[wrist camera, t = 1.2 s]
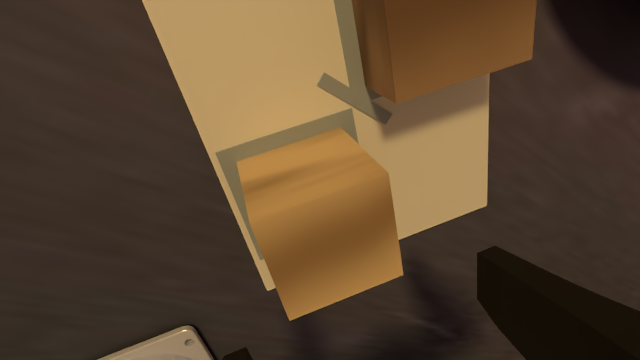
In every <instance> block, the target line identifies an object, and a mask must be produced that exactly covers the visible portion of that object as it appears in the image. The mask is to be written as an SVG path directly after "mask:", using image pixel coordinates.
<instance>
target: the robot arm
mask: <svg viewBox="0 0 640 360" xmlns="http://www.w3.org/2000/svg"><path fill="white" fill-rule="evenodd" d="M477 299H478V301H479V302H480V303H481V305H482V306H483V308H484V309H485V311H486V312H487V313H488V315H489V316H490V318H491V319H492V320H493V322H494V323H495V324H496V326H497V327H498V328H499V330H500V331H501V332H502V333H503V334H504V335H505V336H506V338H507V339H508V340H509V341H510V342H511V343H512V344H513V345H514V346H515V348H516V349H517V350H518V351H519V352H520V353H521V354H522V355H523V356H524V357H525V359H526V360H640V311H638V310H635V309H633V308H630V307H628V306H625V305H623V304H620V303H618V302H615V301H613V300H611V299H608V298H606V297H603V296H601V295H599V294H596V293H594V292H592V291H589V290H587V289H585V288H583V287H580V286H578V285H576V284H574V283H572V282H570V281H567V280H565V279H563V278H561V277H559V276H557V275H555V274H552V273H550V272H548V271H546V270H544V269H542V268H540V267H538V266H536V265H534V264H532V263H530V262H528V261H526V260H523V259H521V258H519V257H517V256H515V255H513V254H511V253H509V252H507V251H505V250H503V249H501V248H499V247H497V246H493V247H491V248H488V249H486V250H483V251H481V252H479V253H477ZM189 339H192V340H189ZM98 360H214V358H213V357H212V355H211V354H210V352H209V350H208V349H207V347H206V346H205V344H204V342H203V341H202V339H201V338H200V336H199V335H198V333H197V331H196V330H195V328H194V327H192V326H182V327H180V328H177V329H175V330H172V331H169V332H167V333H164V334H162V335H159V336H157V337H154V338H151V339H149V340H146V341H144V342H141V343H139V344H136V345H134V346H131V347H128V348H126V349H123V350H121V351H118V352H116V353H113V354H110V355H108V356H105V357H103V358H100V359H98ZM222 360H253V359H252V357H251V356H250V354H249V352H248V350H247V348H246V347H245V348H243V349H240V350H238V351H235V352H233V353H231V354H228V355H226V356H224V357H223V359H222Z"/></svg>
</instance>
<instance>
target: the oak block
mask: <svg viewBox="0 0 640 360" xmlns="http://www.w3.org/2000/svg"><path fill="white" fill-rule="evenodd" d="M237 167H238V172H239V176H240V181H241V186H242V191H243V195H244V200H245V205H246V209H247V214H248V219H249V223H250V226H251V228H252V231H253V233H254V236H255V238H256V240H257V243H258V245H259V248H260V250H261V253H262V255H263V257H264V260H265V262H266V265H267V267H268V270H269V272H270V275H271V277H272V279H273V282H274V284H275V287H276V289H277V292H278V294H279V296H280V299H281V301H282V304H283V306H284V309H285V311H286V314H287V316H288V318H289V321H290V320H293V319H295V318H298V317H300V316H303V315H305V314H308V313H310V312H313V311H315V310H318V309H320V308H323V307H325V306H327V305H330V304H332V303H335V302H337V301H340V300H342V299H345V298H347V297H350V296H352V295H355V294H357V293H360V292H362V291H365V290H367V289H369V288H372V287H374V286H377V285H379V284H382V283H384V282H387V281H389V280H392V279H394V278H397V277H399V276H402V275H403V268H402V261H401V255H400V248H399V241H398V234H397V227H396V220H395V213H394V206H393V199H392V193H391V186H390V179H389V173H388V172H387V171H386V170H385V169H384V168H383V167H382V166H381V165H380V164H379V163H378V162H377V161H376V160H375V159H373V158H372V157H371V156H370V155H369V154H368V153H367V152H366V151H365V150H364V149H363V148H362V147H361V146H360V145H359V144H358V143H357V142H356V141H355V140H354V139H353V138H352V137H350V136H349V135H348V134H347V133H346V132H345V131H344V130H343V129H342V128H341V127H340V128H337V129H334V130H331V131H328V132H325V133H322V134H319V135H316V136H313V137H310V138H307V139H304V140H301V141H298V142H295V143H292V144H289V145H286V146H283V147H280V148H277V149H274V150H271V151H268V152H265V153H262V154H259V155H256V156H253V157H250V158H247V159H244V160H241V161H238V162H237Z"/></svg>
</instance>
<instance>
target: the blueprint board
mask: <svg viewBox="0 0 640 360" xmlns="http://www.w3.org/2000/svg"><path fill="white" fill-rule="evenodd" d="M142 1H143V4H144V6H145V8H146V11H147V13H148V15H149V18H150V20H151V22H152V25H153V27H154V29H155V32H156V34H157V36H158V39H159V41H160V43H161V45H162V48H163V50H164V52H165V55H166V57H167V59H168V62H169V64H170V66H171V69H172V71H173V73H174V76H175V78H176V80H177V83H178V85H179V87H180V90H181V92H182V94H183V97H184V99H185V101H186V104H187V106H188V108H189V110H190V113H191V115H192V117H193V120H194V122H195V124H196V127H197V129H198V131H199V134H200V136H201V138H202V141H203V143H204V145H205V148H206V150H207V152H208V155H209V157H210V159H211V162H212V164H213V166H214V168H215V171H216V173H217V175H218V178H219V180H220V182H221V185H222V187H223V189H224V192H225V194H226V196H227V199H228V201H229V203H230V206H231V208H232V210H233V213H234V215H235V217H236V220H237V222H238V224H239V227H240V229H241V231H242V233H243V236H244V238H245V240H246V243H247V245H248V247H249V250H250V252H251V254H252V257H253V259H254V261H255V264H256V266H257V268H258V271H259V273H260V275H261V278H262V280H263V282H264V285H265V287H266V289H267V291H269V290H271V289H274V288H276V287H275V284H274V282H273V279H272V277H271V275H270V272H269V270H268V267H267V265H266V262H265V260H264V257H263V255H262V253H261V250H260V248H259V245H258V243H257V240H256V238H255V236H254V233H253V231H252V228H251V226H250V223H249V219H248V214H247V209H246V205H245V200H244V195H243V191H242V186H241V181H240V176H239V172H238V167H237V162H238V161H241V160H244V159H247V158H250V157H253V156H256V155H259V154H262V153H265V152H268V151H271V150H274V149H277V148H280V147H283V146H286V145H289V144H292V143H295V142H298V141H301V140H304V139H307V138H310V137H313V136H316V135H319V134H322V133H325V132H328V131H331V130H334V129H337V128H340V127H341V128H342V129H343V130H344V131H345V132H346V133H347V134H348V135H349V136H350V137H352V138H353V139H354V140H355V141H356V142H357V143H358V144H359V145H360V146H361V147H362V148H363V149H364V150H365V151H366V152H367V153H368V154H369V155H370V156H371V157H372V158H373V159H375V160H376V161H377V162H378V163H379V164H380V165H381V166H382V167H383V168H384V169H385V170H386V171H387V172H388V173H389V179H390V186H391V193H392V199H393V206H394V213H395V220H396V227H397V234H398V240H400V239H402V238H405V237H407V236H410V235H413V234H415V233H418V232H420V231H423V230H425V229H428V228H431V227H433V226H436V225H438V224H441V223H443V222H446V221H449V220H451V219H454V218H456V217H459V216H461V215H464V214H466V213H469V212H472V211H474V210H477V209H479V208H482V207H484V206H487V172H488V119H489V73H488V74H485V75H482V76H479V77H476V78H473V79H470V80H467V81H464V82H461V83H458V84H455V85H452V86H449V87H446V88H443V89H440V90H437V91H434V92H431V93H428V94H425V95H422V96H419V97H416V98H413V99H410V100H407V101H404V102H401V103H398V104H396V103H394V102H392V101H390V100H389V99H387V98H385V97H383V96H381V95H380V94H378V93H376V92H374V91H373V90H371V89H369V88H367V87H366V86H365V81H364V75H363V69H362V62H361V56H360V50H359V44H358V37H357V31H356V25H355V19H354V12H353V6H352V0H142Z"/></svg>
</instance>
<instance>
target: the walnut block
mask: <svg viewBox="0 0 640 360" xmlns="http://www.w3.org/2000/svg"><path fill="white" fill-rule="evenodd" d="M536 1H537V0H352V6H353V12H354V19H355V25H356V31H357V37H358V44H359V50H360V56H361V62H362V69H363V75H364V81H365V86H366V87H367V88H369V89H371V90H373V91H374V92H376V93H378V94H380V95H381V96H383V97H385V98H387V99H389V100H390V101H392V102H394V103H396V104H398V103H401V102H404V101H407V100H410V99H413V98H416V97H419V96H422V95H425V94H428V93H431V92H434V91H437V90H440V89H443V88H446V87H449V86H452V85H455V84H458V83H461V82H464V81H467V80H470V79H473V78H476V77H479V76H482V75H485V74H488V73H491V72H494V71H497V70H500V69H503V68H506V67H509V66H512V65H515V64H518V63H521V62H524V61H527V60H530V59H532V52H533V39H534V26H535V14H536Z"/></svg>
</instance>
